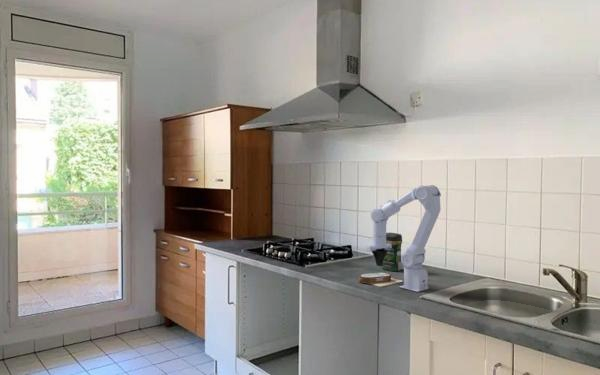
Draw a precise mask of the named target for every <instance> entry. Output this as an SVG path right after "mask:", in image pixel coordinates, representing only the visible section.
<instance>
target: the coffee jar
mask: <svg viewBox="0 0 600 375" xmlns="http://www.w3.org/2000/svg"><path fill="white" fill-rule="evenodd" d="M402 236H403V235H402V234H401V233H395V232H386V244H392V248H387V249H385V250H387V253H386V255H385V257H384V260H383V264H382V266H381V268H382V270H386V271H391V272H399V271H401V270H402V269H403V268H402V267H403V266H402V265H403V264H402V262H401V256H402V244H403V237H402Z"/></svg>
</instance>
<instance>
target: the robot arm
mask: <svg viewBox="0 0 600 375" xmlns="http://www.w3.org/2000/svg"><path fill="white" fill-rule="evenodd" d="M441 196H442V193H441V190H439V188H438V187H437V185H432V184H431V185H419V186H417V187H415V188H413V189H411V190H410V191H408V192H407V193H406V194H404V195H402V196H401V197H400V198H399V199H397V200H394V199H388V201H387V203H385V204H384V205H380V206H379V208H374V209H373V210H371V213H370V219H371V220H372V222H373V223H372V228H373V229H372V244H371V245H369V246H366V251H367V252H370V253H372V254H373V257H374V260H375V263H376V266H377V267H382V264H383V260H384V257H385V255H386V253H387V250H385V249H387V248H392V244H386V233H387V223H388V219H389V218H390V217H392V216H394V215H395V214H397V213H399V212H401V208H402V207H404V206H405V205H407V204H410V203H411V202H413V201H416V200H418V201H419V203H420V204H421V205H422V206H423V207H424V210H425V211H424V213H423V216H422V218H421V220H420V224H419V226H418V228H417V230H416V233H415V234H414V238H413V240H412V242H411V244H410V245H409V246H408V247H407V248H406V250H405V251H404V252H403V253H401V262H402V265H403V284H402V285H399V288H401V289H406V290H409V291H413V292H422V291H425V290H426V291H427V290H429V289H430V288H429V272H428V271H427V270H426V269H425V268H423V263H425V259H426V257H425V255H426V253H427V250H426V245H427V243H428V240H429V238H430V236H431V233H432V231H433V229H434V227H435V224H436V223H437V219H438V217H439V215H440V213H441Z"/></svg>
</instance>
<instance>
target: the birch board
mask: <svg viewBox="0 0 600 375" xmlns="http://www.w3.org/2000/svg"><path fill="white" fill-rule="evenodd" d="M400 283H404V280H401V279H398V278H392V277H391V281H390V282H382V283H366V284H368V285H371V286H375V287H379V288H383V287H388V286H391V285H392V286H393V285H395V284H400Z"/></svg>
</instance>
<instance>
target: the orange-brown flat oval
mask: <svg viewBox="0 0 600 375" xmlns="http://www.w3.org/2000/svg"><path fill="white" fill-rule="evenodd" d="M391 278H392V274H389V273H387V272H367V273H361V274H359V277H358V281H359V283H363V284H367V283H382V282H390V281H391Z"/></svg>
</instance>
